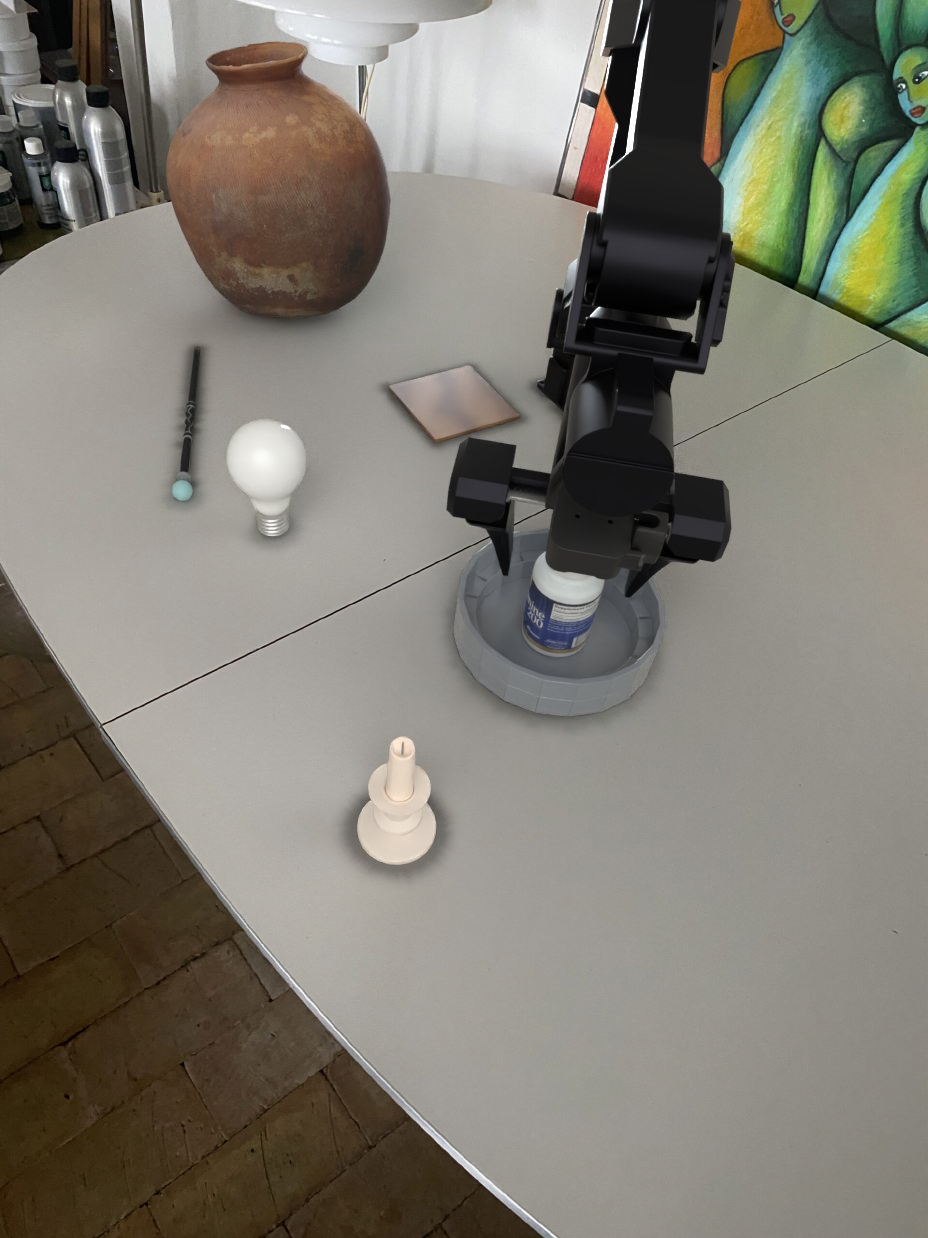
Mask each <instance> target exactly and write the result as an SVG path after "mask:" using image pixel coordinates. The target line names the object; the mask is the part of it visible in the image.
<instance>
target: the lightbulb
mask: <svg viewBox="0 0 928 1238" xmlns="http://www.w3.org/2000/svg"><path fill="white" fill-rule="evenodd" d="M229 438H230V439H229V441H228V442H227V446H226V450H225V465H226V470H227V472H228V474H229V476H230V478H231V480H232V482H233V483H234V484H235V485H236V487H237V488H238V489H239V490H240V491H242V492H243V493H244V494H245V495H247V496H248V498H249V500H250V504H251V505H252V506H253V508H254V509H255V516H256V523H257V524H256V525H257V530H258V532H260V533H261V534H262V535H265V536H266V537H279V536H282V535H283V534H285V533H287V531H288V530H289V529H290V516H289V506H290V504H291V500H292V496H293V492H295V490H296V489H297V488H298V487H299V486H300V484H301V483H302V481H303V479H304V477H305V475H306V472H307V468H308V452H307V449H306V446H305V444H304V441H303V440H302V438H301V437H300V435H299V434H298V432H296V430H295V429H294V428H293V427H291V426H289V425H288V424H286V423H285V422H284V421H280V420H277V419H273V418H263V417H261V418H256V419H252V420H250V421H247V422H245V423H243V424H242V425H241V426H239V427H238V428H237V429H236V430H235V431H234V433H232V435H231V437H229Z"/></svg>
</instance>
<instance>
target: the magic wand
mask: <svg viewBox="0 0 928 1238" xmlns="http://www.w3.org/2000/svg"><path fill="white" fill-rule="evenodd" d="M199 359H200V347H199V346H198V345H196V346H195V347H194V350H193V358H192V365H191V366H192V367H191V373H190V380H189V381H190V382H189V391H188V399H187V402H186V405H185V406H186V407H185V417H186V418H185V420H184V424H185V427H184V432H183V434H182V441H183V444H182V448H181V455H180V463H179V465H180V466H179V467H180V469H179V472H177V473H176V474H175V476H174V479H175V482H174V483H172V484H173V485H172V487H171V494H172V496H173V497H174V498H175V500H177V501H180V502H184V501H185V502H186V501H188V500H189V499H190V498H192V496H193V493H194V492H193V491H194V490H193V486H192V484H191V482H192V479H193V478H192V475H191V474H190V471H189V470H190V464H191V453H192V442H193V437H194V436H193V429H194V424H193V423H194V420H195V412H196V405H197V404H196V394H197V382H198V372H199V362H200V361H199Z"/></svg>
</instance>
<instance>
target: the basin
mask: <svg viewBox="0 0 928 1238" xmlns="http://www.w3.org/2000/svg"><path fill="white" fill-rule="evenodd" d="M549 529H550V528H539V529H538V528H537V529H527V530H519V531H515V532H514V535H513V552H512V558H511V563H510V569H509V574H508V576H503V574H502V571H501V568H500V565H499V561H498V558H497V555H496V552H495V548H494V545H493V543H492V541H489V543H488V544H486V545H485V546H483V547H482V548H481V549H479V550H478V551H477V552H475V553H474V554H473V555H472V556H471V558H470V559H469V561H468V563H467V564H466V566H465V568H464V569H463V571H462V572H461V574H460V576H459V582H458V591H457V600H456V607H455V615H454V623H453V631H452V632H453V633H452V635H453V638H454V641H455V644H456V648H457V652H458V655H459V658H460V659H461V661H462V662H463V663H464V665H465V667H466V668H467V669H468V670H469V672H470V673H471V674H472V676H473V678H474V679H475V680H476V682H478V683H479V684H481V686H484V687H485V688H486V689H487V690H489V691H490V692H492V693H493V694H494V695H496V696H497V697H498V698H500V699H501V700H502V701H504V702H506V703H509V704H512V705H514V706H518V707H519V708H522V709H525V710H527V711H530V712H532V713H535V714H543V715H550V716H558V717H566V718H567V717H570V718H571V717H575V716H576V717H577V716H584V715H591V714H597V713H601V712H604V711H606V710H608V709H611V708H612V707H615V706H617V705H619V704H621V703H623V702H626V701H627V700H629V698H631V697H632V695H633V694H635V692H636V691H637V690H638V689H640V687H641V686H642V685H643V684H644V683H645V682H646V680H647V678H648V674H649V673H650V670H651V668H652V665H653V663H654V660H655V658H656V655H657V653H658V651H659V648H660V645H661V642H662V639H663V636H664V634H665V631H666V628H667V619H666V618H667V617H666V608H665V607H666V606H665V601H664V598H663V596H662V594H661V592H660V590H659V589H658V586H657V584H656V583H655V580H654V578H653V576H652V577H651V578H650V579H649V580H648V581H647V582H646V583H645V584H644V585H643V586H642V587H641V588H640V589H639V590H638V591H637V592H636V593H634V594H633V595H632V596H631V597H630V598H627V597H625V596H624V594H625V585H626V581H627V577H628V574H629V570H630V569H625V568H621V570H620V572H619V574H618V575H617V576H616V577H614V578H612V579H608V580H605V582H604V588H603V590H602V593H601V597H600V600H599V603H598V606H597V610H596V613H595V616H594V619H593V622H592V626H591V629H590V633H589V636H588V638H587V641H586V643H585V645H584V646H583V648H582V649H581V650H580V651H578V652H577V653H575V654H573V655H570V656H566V657H550V656H546V655H543V654H541V653H539V652H537V651H535V650H534V649H533V648H531V647H530V646H529V645H528V644H527V642H526V640H525V639H524V637H523V634H522V620H523V615H524V610H525V605H526V601H527V595H528V591H529V586H530V581H531V577H532V572H533V568H534V565H535V562H536V560H537V559H538V558H539V556H540V555H541V554H543V553H544V552H545V551H546V547H547V542H548V536H549Z"/></svg>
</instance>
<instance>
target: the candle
mask: <svg viewBox="0 0 928 1238" xmlns="http://www.w3.org/2000/svg"><path fill="white" fill-rule="evenodd" d="M367 791H368V797H369V800H368V801H367V802H366V803H365V805H364V806H363V807H362V809H361V811H360V813H359V815H358V818H357V825H356V830H357V838H358V841H359V843H360V845H361V848H362V849H363V850H364V852H366V853H367V855H369V856H370V857H371V858H373V859H374V860H375V861H377V862H380V863H383V864H386V865H393V866H400V865H406V864H407V865H408V864H411V863H413V862H415V861H418V860H419V859H421V858H422V857H423V856H424V855H425V854H427V852H428V851H429V850H430V849H431V847H433V844H434V841H435V838H436V833H437V820H436V817H435V816H436V815H435V814H434V811H433V810H432V807H431V806H430V805H429V804H428V802H429V798H430V796H431V791H432V785H431V780H430V778H429V776H428V774H427V772H426V771H425V769H423V768H422V767H421V766H419V765H418V764H416V745H415V743H414V741H413V740H412V739H411V738H409V737H408V736H397V737H395V738H394V739H393V740H392V741H391V742H390V744H389V752H388V760H387V762H385V763H383V764H381V765H379V766H378V767H377V768H376V769H375V770H374V771H373V772H372V773H371V775H370V778H369V780H368V785H367Z"/></svg>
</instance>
